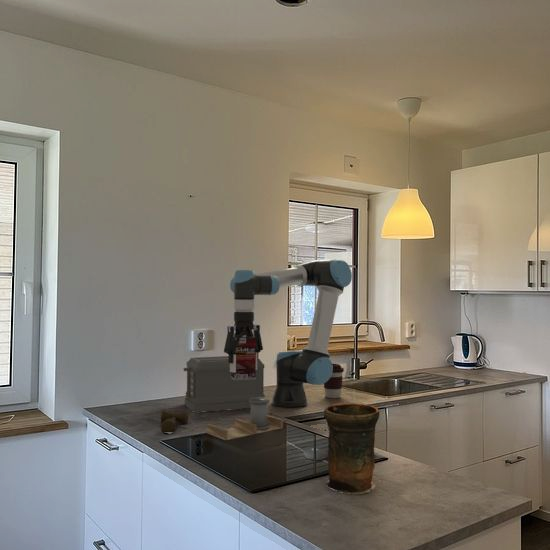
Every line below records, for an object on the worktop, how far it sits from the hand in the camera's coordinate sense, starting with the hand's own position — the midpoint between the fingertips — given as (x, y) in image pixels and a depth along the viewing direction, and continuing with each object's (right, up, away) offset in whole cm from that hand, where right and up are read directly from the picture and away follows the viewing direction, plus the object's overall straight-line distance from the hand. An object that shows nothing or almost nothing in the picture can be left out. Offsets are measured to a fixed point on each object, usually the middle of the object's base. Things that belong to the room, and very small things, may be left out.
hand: (243, 370), depth 210 cm
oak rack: (+1, -19, -15) cm, 25 cm away
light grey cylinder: (+6, -18, -11) cm, 22 cm away
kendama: (-25, -20, -7) cm, 33 cm away
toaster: (-10, -20, +29) cm, 37 cm away
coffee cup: (+39, -21, +50) cm, 66 cm away
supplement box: (0, -3, 0) cm, 3 cm away
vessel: (+32, -19, -65) cm, 75 cm away
